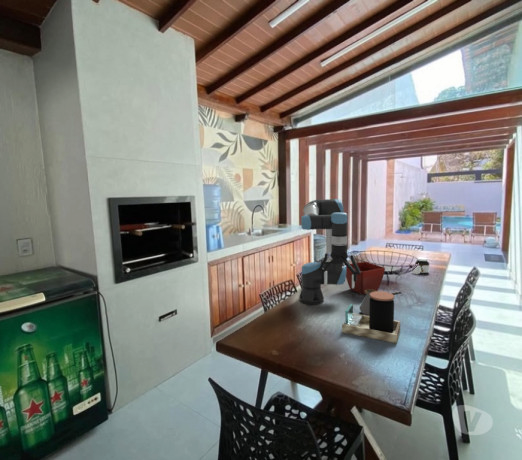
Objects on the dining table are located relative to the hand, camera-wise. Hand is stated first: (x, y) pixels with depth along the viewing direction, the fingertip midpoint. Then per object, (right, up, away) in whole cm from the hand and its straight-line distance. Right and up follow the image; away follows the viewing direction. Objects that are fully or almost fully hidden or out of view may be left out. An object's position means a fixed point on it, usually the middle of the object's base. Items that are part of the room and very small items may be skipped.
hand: (339, 285), depth 150 cm
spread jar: (+86, -6, +85) cm, 121 cm away
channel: (+14, -21, -6) cm, 26 cm away
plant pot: (+29, -13, +50) cm, 60 cm away
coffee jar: (+18, -20, -8) cm, 28 cm away
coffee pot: (+25, -18, +10) cm, 32 cm away
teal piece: (+7, -19, -2) cm, 21 cm away
